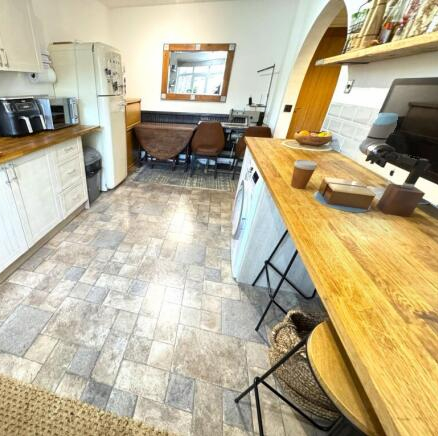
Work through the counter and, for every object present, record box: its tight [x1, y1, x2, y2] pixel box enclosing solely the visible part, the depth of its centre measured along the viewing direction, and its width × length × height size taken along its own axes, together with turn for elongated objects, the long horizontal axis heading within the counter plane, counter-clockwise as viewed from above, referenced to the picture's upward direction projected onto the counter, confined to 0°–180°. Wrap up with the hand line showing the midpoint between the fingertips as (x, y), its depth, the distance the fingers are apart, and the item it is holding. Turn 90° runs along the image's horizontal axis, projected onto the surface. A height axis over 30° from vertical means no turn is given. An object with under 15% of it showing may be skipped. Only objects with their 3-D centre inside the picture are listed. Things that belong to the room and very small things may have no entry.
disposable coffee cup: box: [290, 159, 318, 190], centre depth 113 cm, size 10×10×12 cm
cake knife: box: [401, 158, 430, 189], centre depth 90 cm, size 3×2×21 cm, turn 71°
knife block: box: [376, 183, 426, 218], centre depth 93 cm, size 8×7×10 cm
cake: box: [313, 176, 377, 214], centre depth 101 cm, size 20×20×8 cm
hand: (406, 166), depth 92 cm, fingers open, 13 cm apart
